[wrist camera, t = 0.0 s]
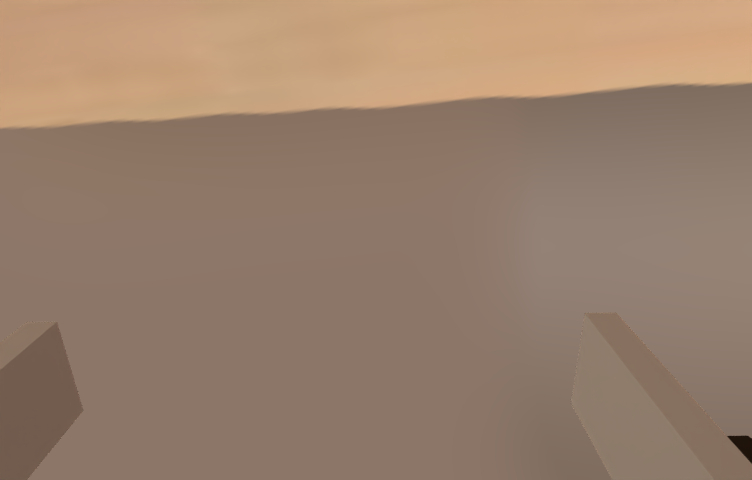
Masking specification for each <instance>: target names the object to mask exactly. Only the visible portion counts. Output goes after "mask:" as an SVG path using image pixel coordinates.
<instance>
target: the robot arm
mask: <svg viewBox="0 0 752 480" xmlns="http://www.w3.org/2000/svg"><path fill="white" fill-rule="evenodd" d="M571 404H572V406H573V408H574V410H575V412H576V414H577V416H578V417H579V419H580V421H581V423H582V425H583V426H584V428H585V430H586V432H587V434H588V436H589V438H590V440H591V441H592V443H593V445H594V447H595V449H596V451H597V452H598V454H599V456H600V458H601V460H602V462H603V463H604V465H605V467H606V469H607V471H608V473H609V475H610V477H611V478H612V480H752V438H750V437H749V436H726V435H725V434H724V432H723V431H722V430H721V429H720V428H719V427H718V426H717V425H716V423H715V422H714V421H713V420H712V419H711V418H710V417H709V416H708V415H707V414H706V412H705V411H704V410H703V409H702V408H701V407H700V406H699V404H698V403H697V402H696V401H695V400H694V399H693V398H692V397H691V396H690V394H689V393H688V392H687V391H686V390H685V389H684V388H683V387H682V386H681V384H680V383H679V382H678V381H677V380H676V379H675V378H674V377H673V375H672V374H671V373H670V372H669V371H668V370H667V369H666V368H665V367H664V366H663V364H662V363H661V362H660V361H659V360H658V359H657V358H656V357H655V355H654V354H653V353H652V352H651V351H650V350H649V349H648V348H647V347H646V345H645V344H644V343H643V342H642V341H641V340H640V339H639V338H638V336H637V335H636V334H635V333H634V332H633V331H632V330H631V329H630V327H629V326H628V325H627V324H626V323H625V322H624V321H623V320H622V319H621V317H620V316H619V315H618V314H617V313H585V316H584V322H583V329H582V335H581V342H580V348H579V355H578V362H577V368H576V374H575V381H574V388H573V394H572V401H571ZM82 412H83V408H82V404H81V401H80V397H79V394H78V391H77V387H76V384H75V381H74V377H73V374H72V371H71V367H70V364H69V361H68V357H67V354H66V350H65V347H64V344H63V340H62V337H61V334H60V331H59V328H58V324H57V322H26V323H25V324H24V325H22V326H21V327H20V328H19V329H17V330H16V331H15V332H14V333H12V334H11V335H10V336H8V337H7V338H6V339H4V340H3V341H2V342H1V343H0V480H27V479H28V478H29V477H30V475H31V474H32V473H33V472H34V470H35V469H36V468H37V467H38V466H39V464H40V463H41V462H42V461H43V459H44V458H45V457H46V456H47V454H48V453H49V452H50V451H51V449H52V448H53V447H54V446H55V445H56V443H57V442H58V441H59V440H60V439H61V437H62V436H63V435H64V433H65V432H66V431H67V430H68V429H69V427H70V426H71V425H72V424H73V422H74V421H75V420H76V419H77V418H78V416H79V415H80V414H81V413H82Z"/></svg>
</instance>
